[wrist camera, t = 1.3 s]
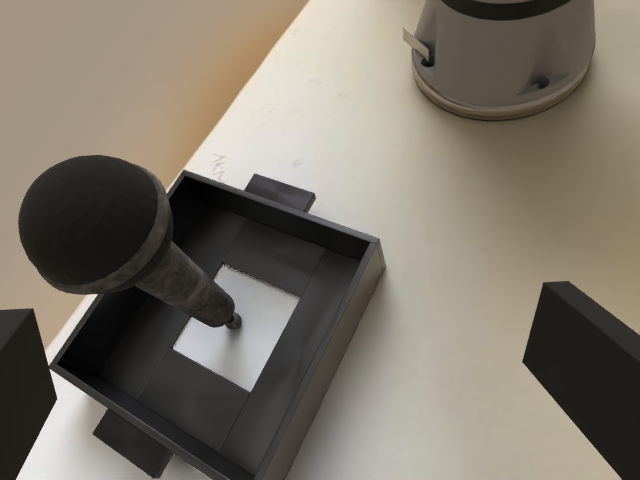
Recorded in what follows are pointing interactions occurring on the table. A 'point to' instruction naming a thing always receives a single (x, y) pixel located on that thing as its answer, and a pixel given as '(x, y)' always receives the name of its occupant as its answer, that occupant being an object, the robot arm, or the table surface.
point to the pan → (196, 380)
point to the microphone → (114, 237)
